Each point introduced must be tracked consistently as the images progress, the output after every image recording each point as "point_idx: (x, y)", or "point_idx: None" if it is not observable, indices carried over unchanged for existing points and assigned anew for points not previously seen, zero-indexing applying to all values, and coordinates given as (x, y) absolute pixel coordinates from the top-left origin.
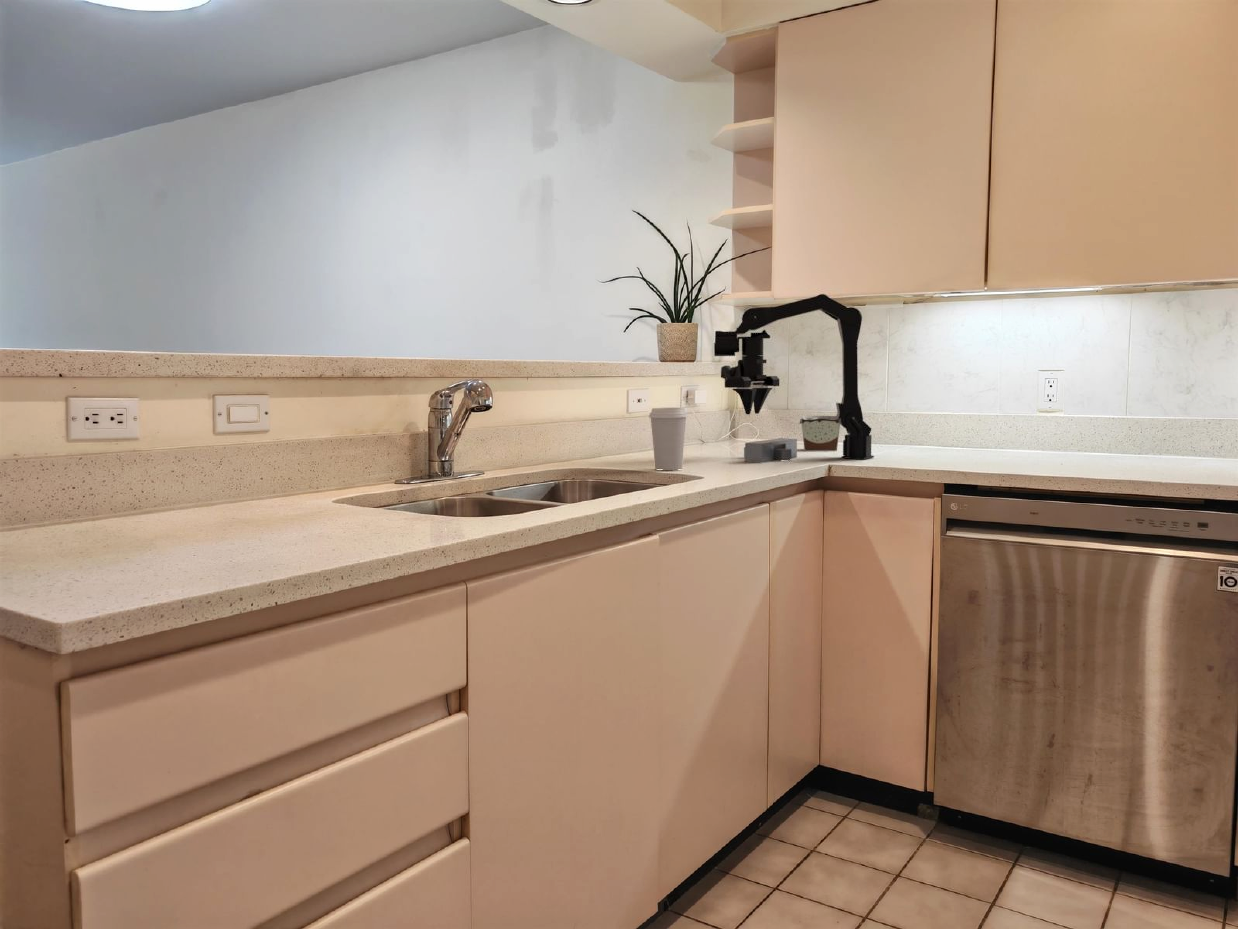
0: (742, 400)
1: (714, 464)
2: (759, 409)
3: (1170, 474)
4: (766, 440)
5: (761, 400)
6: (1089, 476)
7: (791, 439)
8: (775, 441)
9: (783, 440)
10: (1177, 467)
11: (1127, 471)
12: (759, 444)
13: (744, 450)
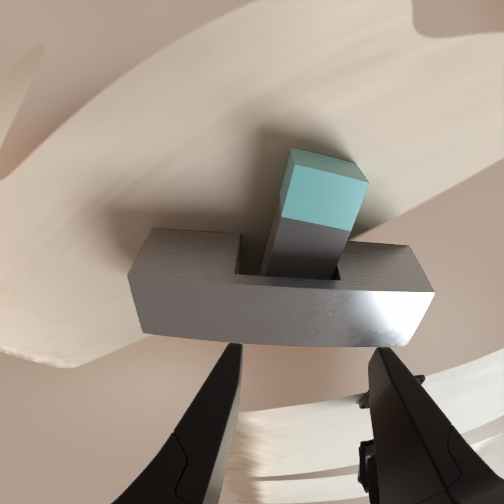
0: (163, 452)
1: (38, 185)
2: (371, 399)
3: (308, 498)
4: (291, 298)
5: (382, 471)
6: (270, 491)
7: (373, 345)
8: (258, 339)
9: (318, 343)
10: (358, 493)
11: (318, 493)
12: (142, 323)
13: (293, 161)
